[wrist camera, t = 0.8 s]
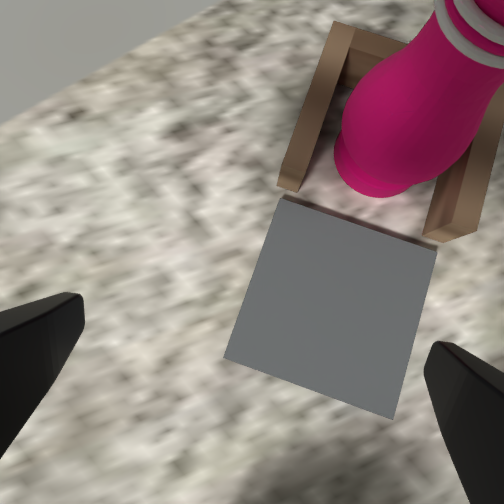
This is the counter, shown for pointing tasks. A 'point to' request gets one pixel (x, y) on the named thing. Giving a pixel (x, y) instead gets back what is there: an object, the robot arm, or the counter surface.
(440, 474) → the counter surface
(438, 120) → the pepper mill
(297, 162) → the walnut cradle
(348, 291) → the rubber mat
